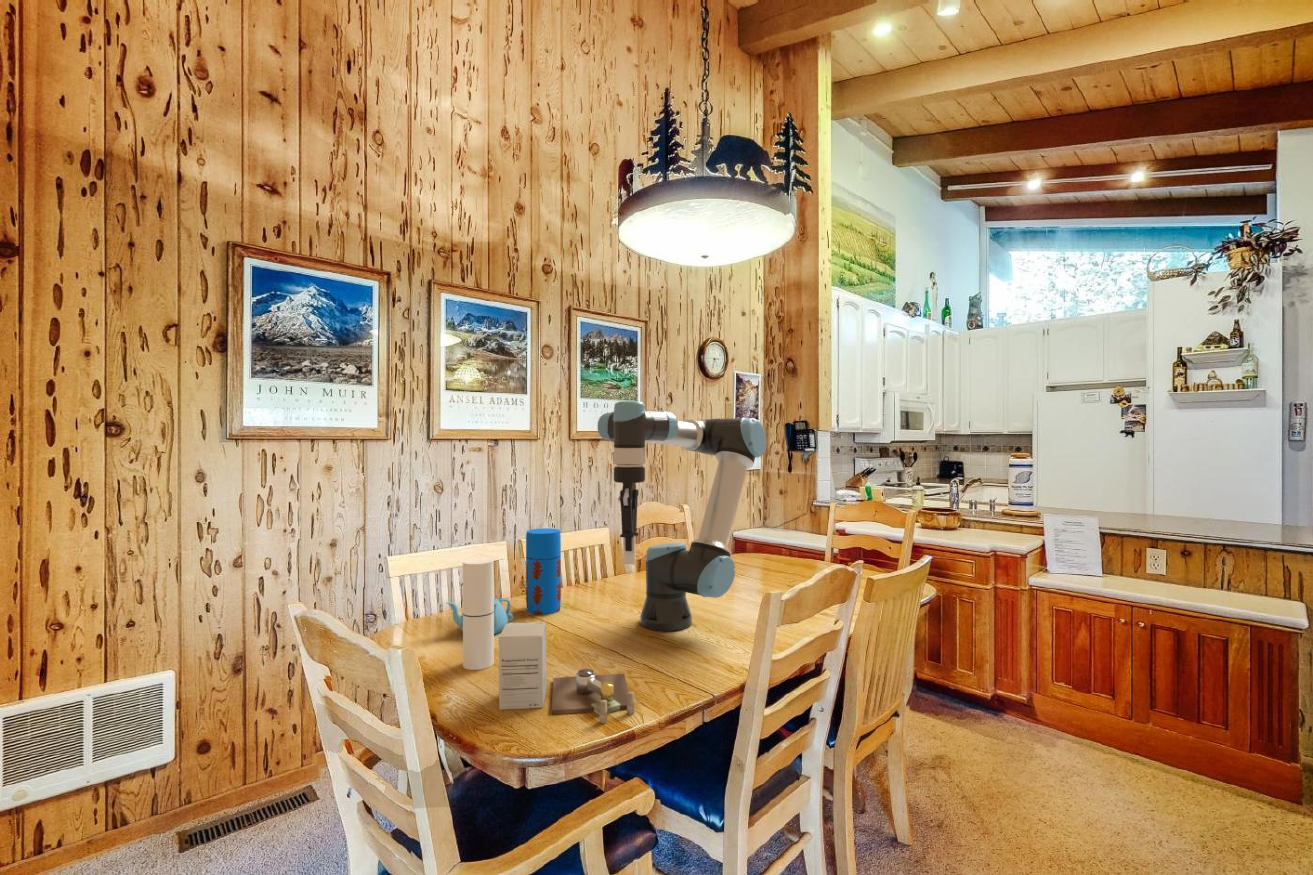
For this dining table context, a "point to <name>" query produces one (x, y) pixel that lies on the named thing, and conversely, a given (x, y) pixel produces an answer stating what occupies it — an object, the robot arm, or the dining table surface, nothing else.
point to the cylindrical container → (478, 613)
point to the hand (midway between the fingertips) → (629, 563)
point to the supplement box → (522, 666)
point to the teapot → (499, 615)
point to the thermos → (543, 571)
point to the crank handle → (594, 685)
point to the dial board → (591, 697)
